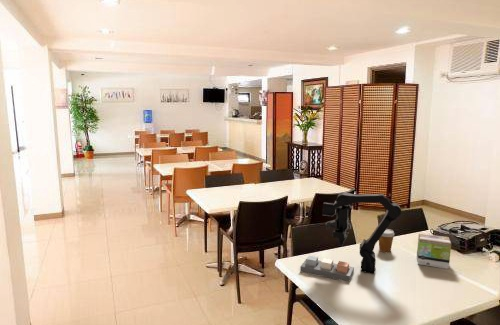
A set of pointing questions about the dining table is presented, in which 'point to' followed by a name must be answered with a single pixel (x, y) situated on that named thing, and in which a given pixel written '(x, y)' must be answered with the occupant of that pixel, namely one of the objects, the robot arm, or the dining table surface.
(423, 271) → the dining table surface
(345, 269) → the terracotta key
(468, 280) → the dining table surface
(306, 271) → the grey slotted tray
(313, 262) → the light grey cube
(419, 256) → the tea box
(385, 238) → the disposable coffee cup
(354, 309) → the dining table surface
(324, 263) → the cream key
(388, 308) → the dining table surface
